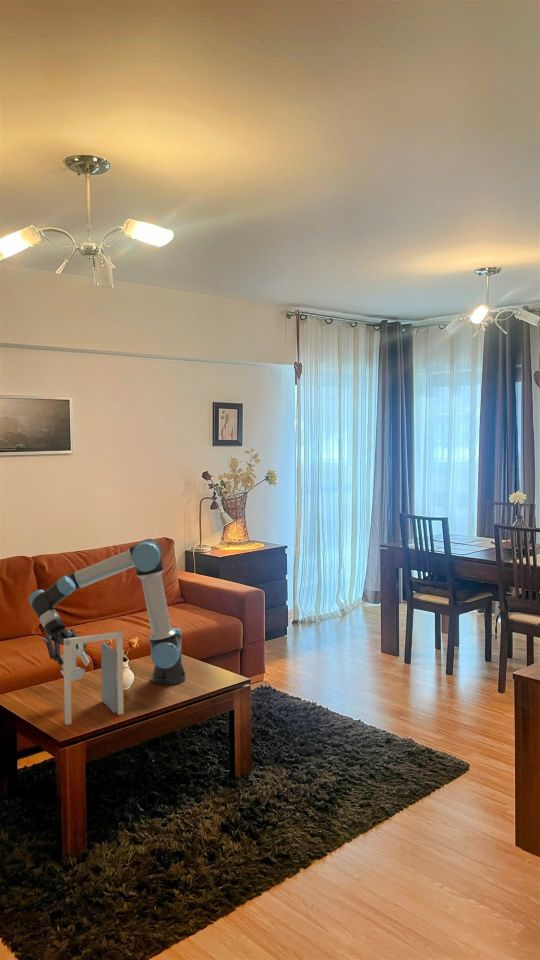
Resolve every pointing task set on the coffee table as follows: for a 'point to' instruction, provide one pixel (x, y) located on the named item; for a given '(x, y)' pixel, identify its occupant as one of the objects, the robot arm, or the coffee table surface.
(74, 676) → the figurine
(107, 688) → the door
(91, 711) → the coffee table surface
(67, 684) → the door frame
